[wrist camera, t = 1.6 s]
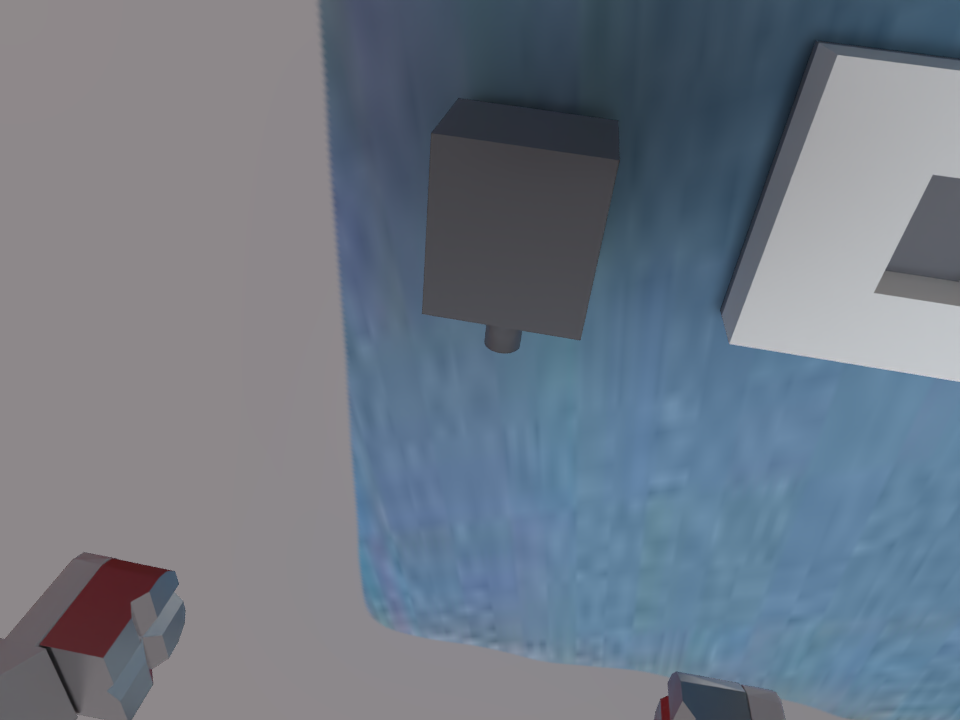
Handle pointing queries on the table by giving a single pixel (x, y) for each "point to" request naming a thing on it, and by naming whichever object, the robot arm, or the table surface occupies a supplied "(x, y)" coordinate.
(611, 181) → the plug
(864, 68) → the socket
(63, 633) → the robot arm
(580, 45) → the table surface
